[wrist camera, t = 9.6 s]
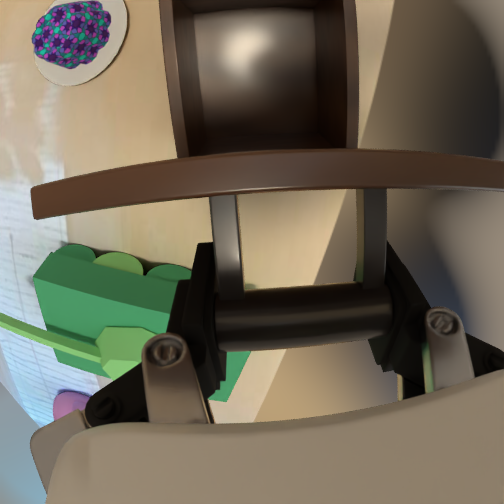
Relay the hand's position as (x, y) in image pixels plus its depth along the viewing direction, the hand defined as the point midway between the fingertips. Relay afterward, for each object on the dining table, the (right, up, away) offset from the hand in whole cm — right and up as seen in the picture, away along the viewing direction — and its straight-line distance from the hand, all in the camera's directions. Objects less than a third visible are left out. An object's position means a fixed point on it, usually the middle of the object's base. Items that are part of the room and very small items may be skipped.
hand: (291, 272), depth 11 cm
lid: (0, +5, +2) cm, 5 cm away
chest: (-1, +18, +14) cm, 23 cm away
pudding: (-19, +23, +10) cm, 32 cm away
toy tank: (-20, -6, +30) cm, 37 cm away
